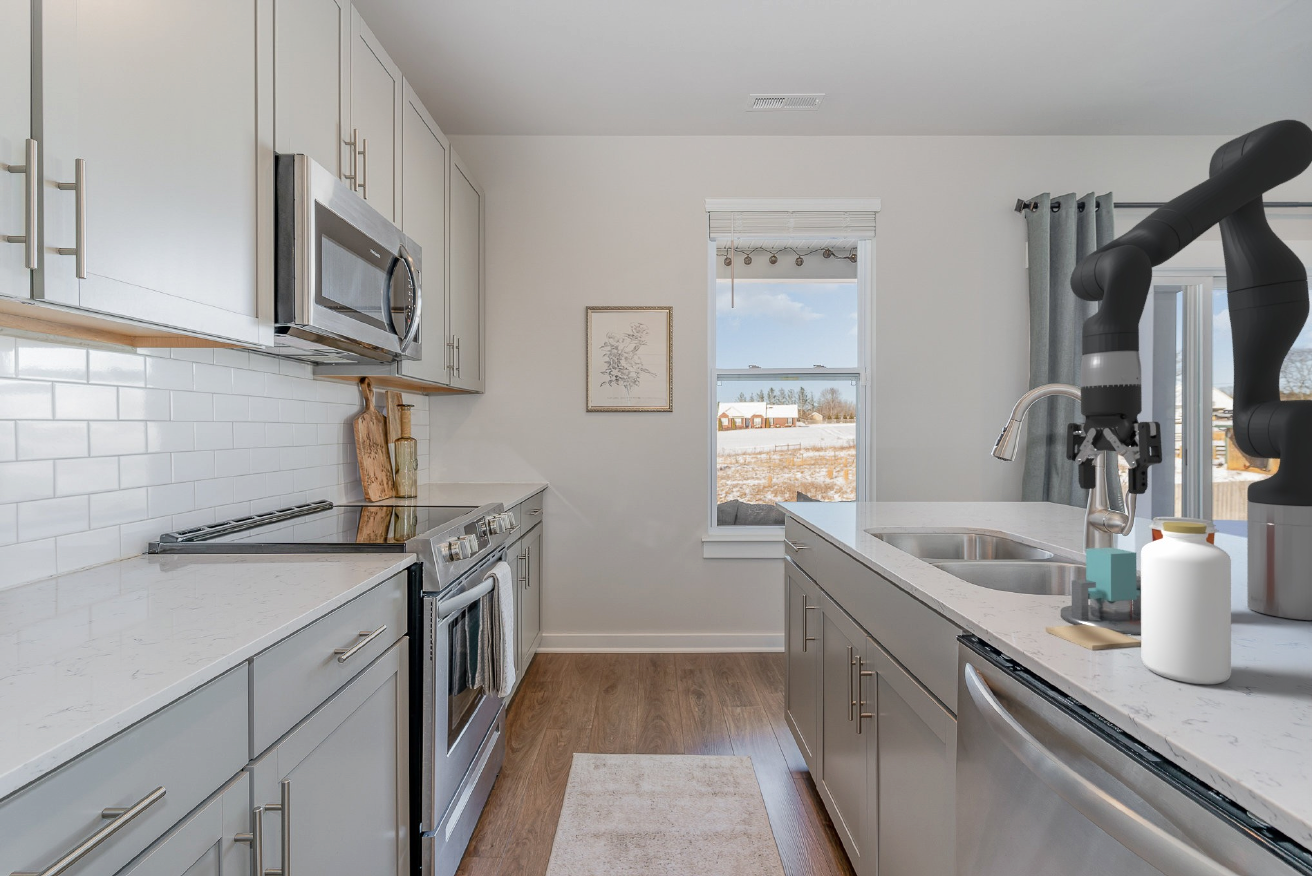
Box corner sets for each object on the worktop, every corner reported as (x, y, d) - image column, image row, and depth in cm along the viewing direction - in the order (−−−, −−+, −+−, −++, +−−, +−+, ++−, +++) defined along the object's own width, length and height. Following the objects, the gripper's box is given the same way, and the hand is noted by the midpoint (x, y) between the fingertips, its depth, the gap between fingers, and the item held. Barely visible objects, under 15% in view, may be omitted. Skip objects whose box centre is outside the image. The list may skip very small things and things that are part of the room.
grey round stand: (1110, 607, 106) (1110, 568, 105) (1189, 631, 93) (1189, 587, 93) (1040, 612, 103) (1040, 572, 103) (1111, 638, 90) (1111, 592, 90)
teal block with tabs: (1123, 591, 101) (1122, 546, 101) (1149, 598, 97) (1149, 552, 96) (1073, 594, 99) (1073, 549, 99) (1098, 602, 95) (1097, 554, 95)
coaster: (1093, 627, 95) (1093, 623, 95) (1143, 645, 87) (1143, 641, 87) (1045, 631, 94) (1045, 627, 94) (1092, 650, 86) (1092, 645, 86)
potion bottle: (1142, 656, 83) (1142, 517, 83) (1229, 671, 78) (1229, 522, 78) (1139, 676, 77) (1138, 525, 77) (1233, 694, 72) (1232, 531, 71)
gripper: (1177, 380, 91) (1177, 495, 91) (1092, 386, 105) (1093, 486, 105) (1131, 380, 90) (1132, 497, 90) (1051, 387, 104) (1052, 487, 104)
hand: (1111, 491), depth 98 cm, fingers open, 8 cm apart
